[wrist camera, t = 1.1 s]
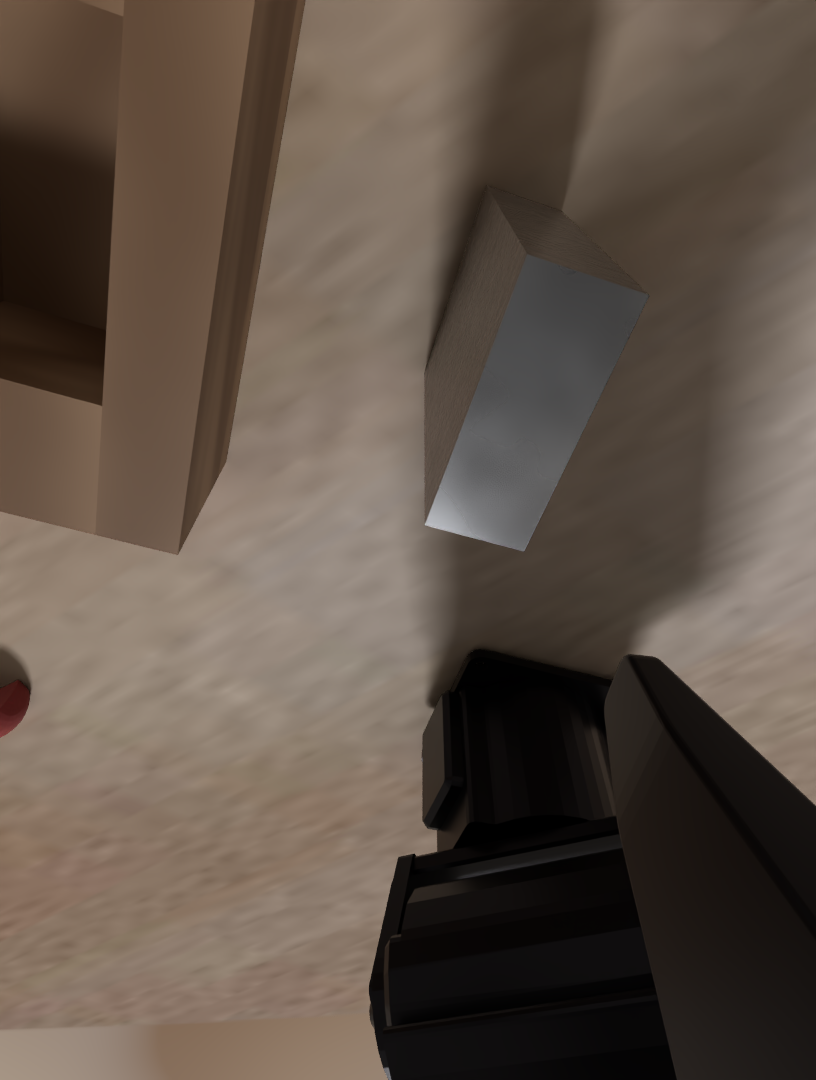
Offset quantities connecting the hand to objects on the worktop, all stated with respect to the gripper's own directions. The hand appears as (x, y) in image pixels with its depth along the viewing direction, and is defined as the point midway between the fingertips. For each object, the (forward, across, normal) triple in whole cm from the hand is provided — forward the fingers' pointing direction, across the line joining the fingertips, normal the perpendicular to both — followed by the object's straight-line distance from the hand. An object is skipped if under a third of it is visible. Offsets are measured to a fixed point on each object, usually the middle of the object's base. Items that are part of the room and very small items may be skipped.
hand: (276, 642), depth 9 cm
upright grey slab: (+12, -3, -2) cm, 13 cm away
